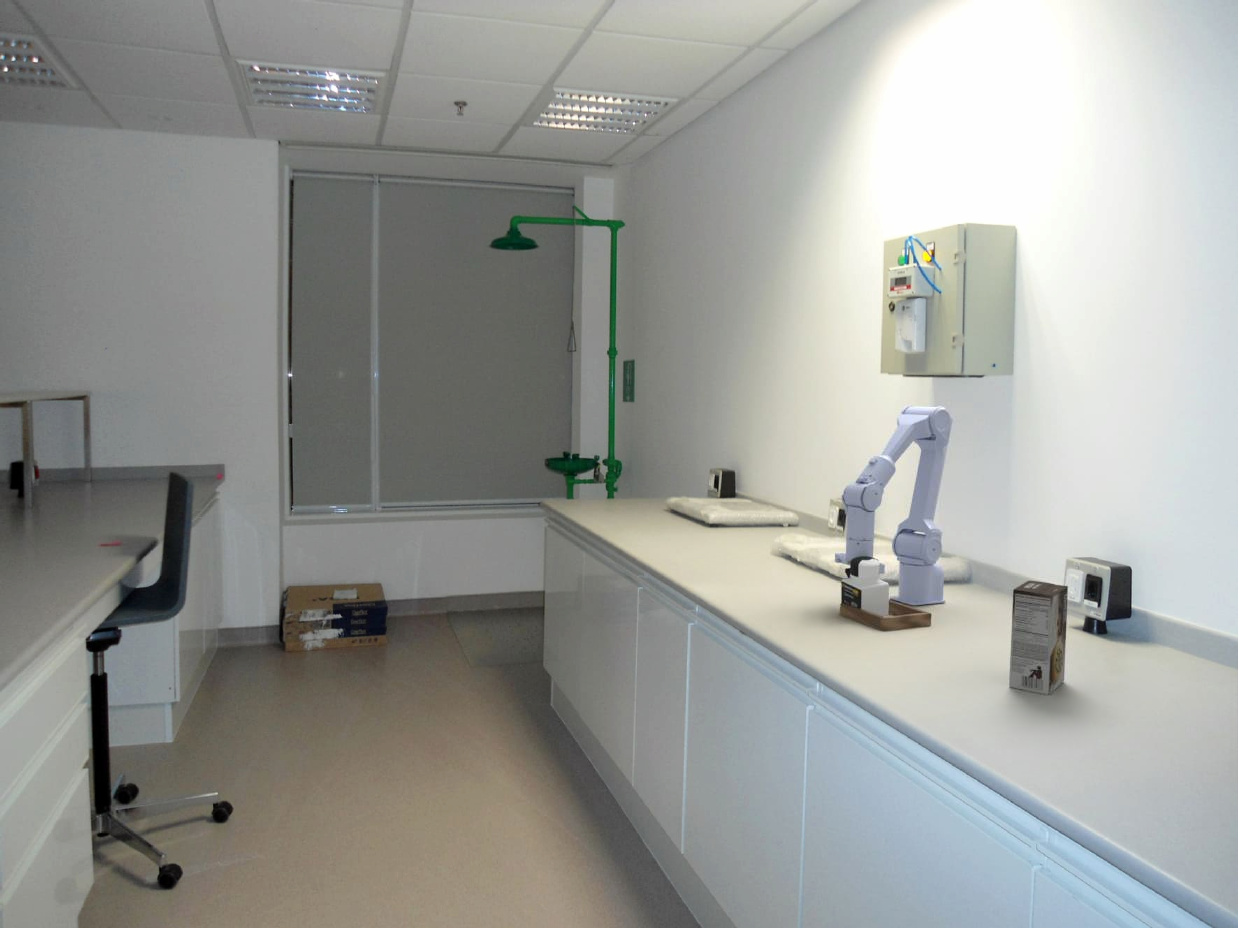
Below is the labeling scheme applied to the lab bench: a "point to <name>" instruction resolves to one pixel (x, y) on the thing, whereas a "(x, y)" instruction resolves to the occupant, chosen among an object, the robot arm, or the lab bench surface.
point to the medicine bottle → (866, 587)
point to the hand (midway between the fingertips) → (857, 601)
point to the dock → (904, 618)
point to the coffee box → (1038, 637)
